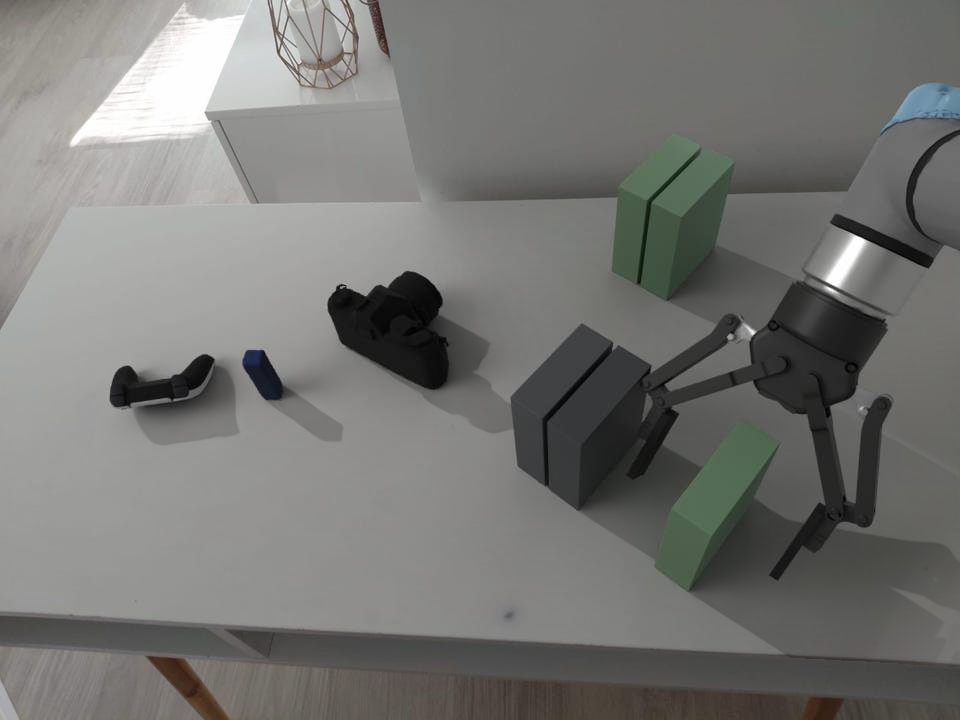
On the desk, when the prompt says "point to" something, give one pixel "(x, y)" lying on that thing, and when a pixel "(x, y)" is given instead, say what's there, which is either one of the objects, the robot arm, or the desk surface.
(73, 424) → the desk surface
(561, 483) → the grey book
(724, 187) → the green book
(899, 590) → the desk surface
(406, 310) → the film camera
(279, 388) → the blue rectangular bar
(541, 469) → the grey book
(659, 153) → the green book
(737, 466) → the sage book
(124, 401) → the gaming controller
